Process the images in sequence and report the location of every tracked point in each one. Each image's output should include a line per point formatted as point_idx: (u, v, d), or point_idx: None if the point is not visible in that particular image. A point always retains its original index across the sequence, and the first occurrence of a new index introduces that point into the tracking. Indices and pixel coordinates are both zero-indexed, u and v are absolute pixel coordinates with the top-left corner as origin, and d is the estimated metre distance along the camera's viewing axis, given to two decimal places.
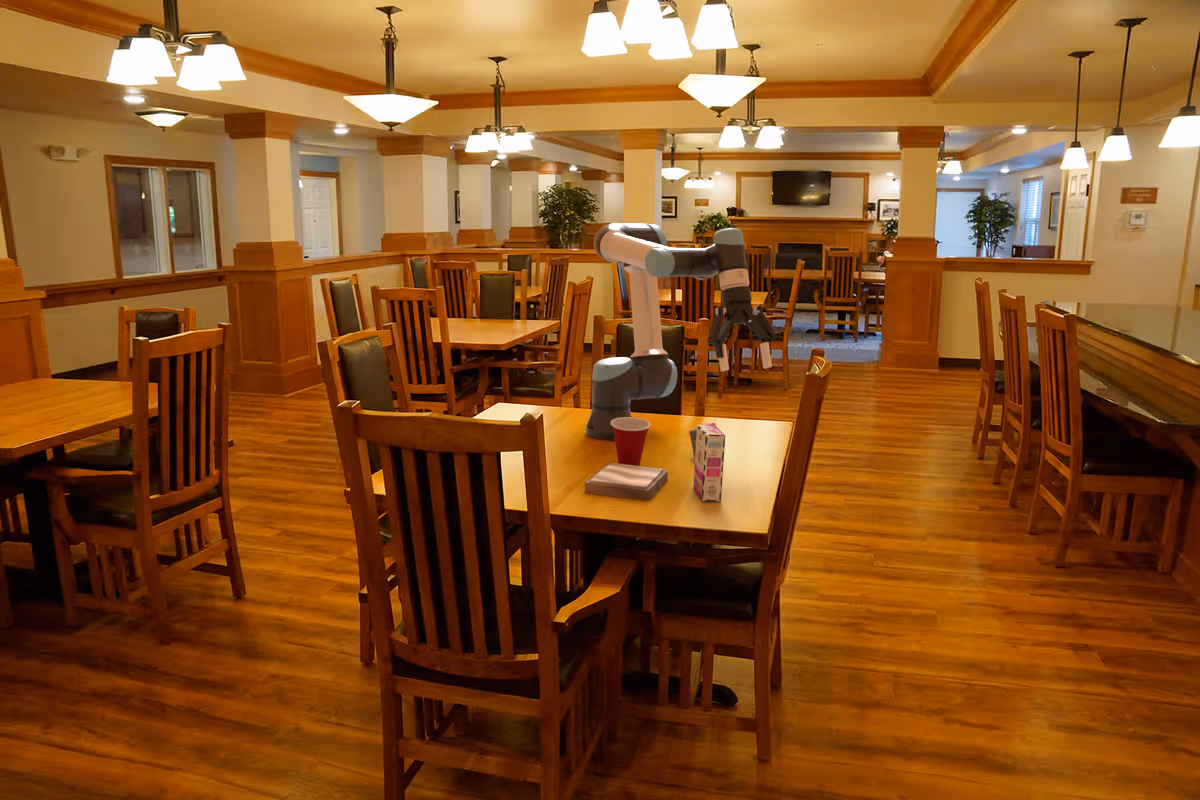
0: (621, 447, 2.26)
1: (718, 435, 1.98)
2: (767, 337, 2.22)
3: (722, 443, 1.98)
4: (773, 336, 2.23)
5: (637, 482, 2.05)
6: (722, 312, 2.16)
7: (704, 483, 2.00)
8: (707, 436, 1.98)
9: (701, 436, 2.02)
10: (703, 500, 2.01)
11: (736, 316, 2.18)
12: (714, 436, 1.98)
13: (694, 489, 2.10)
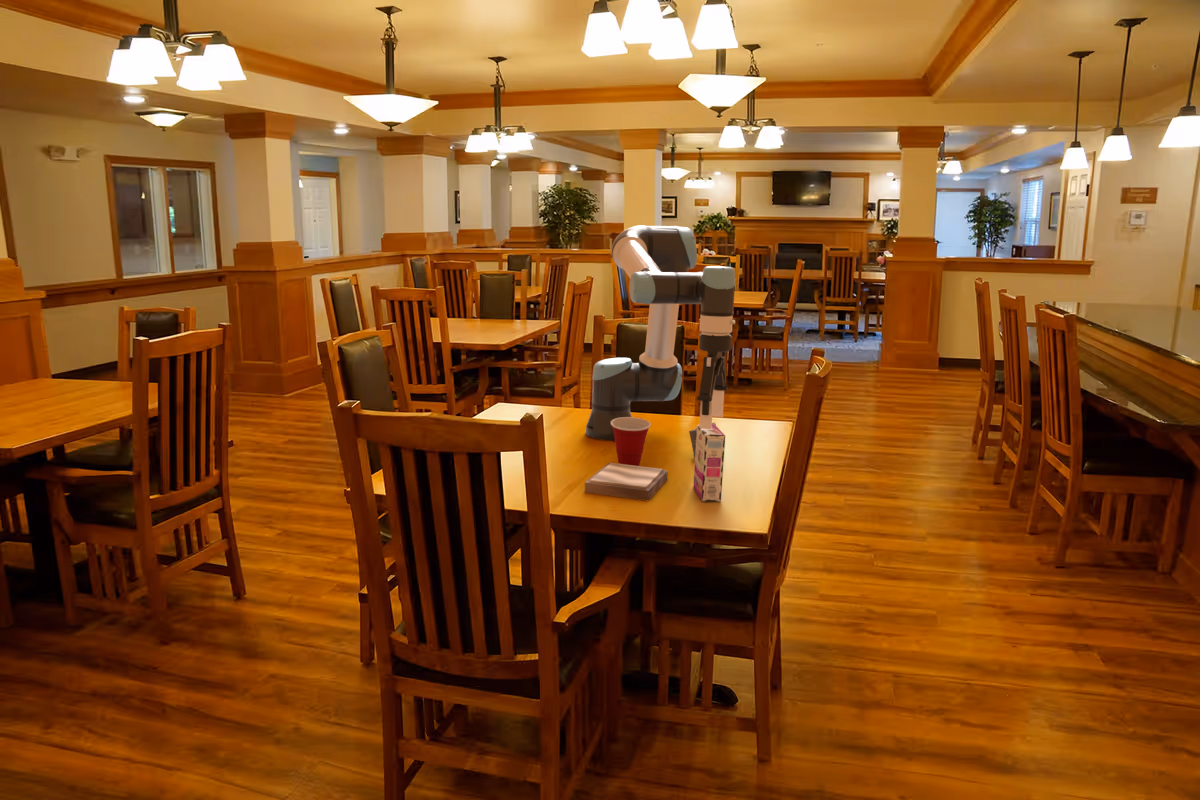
0: (621, 447, 2.26)
1: (718, 435, 1.98)
2: (723, 385, 2.07)
3: (722, 443, 1.98)
4: (725, 383, 2.09)
5: (637, 482, 2.05)
6: (714, 365, 1.93)
7: (704, 483, 2.00)
8: (707, 436, 1.98)
9: (701, 436, 2.02)
10: (703, 500, 2.01)
11: (719, 368, 1.97)
12: (714, 436, 1.98)
13: (694, 489, 2.10)
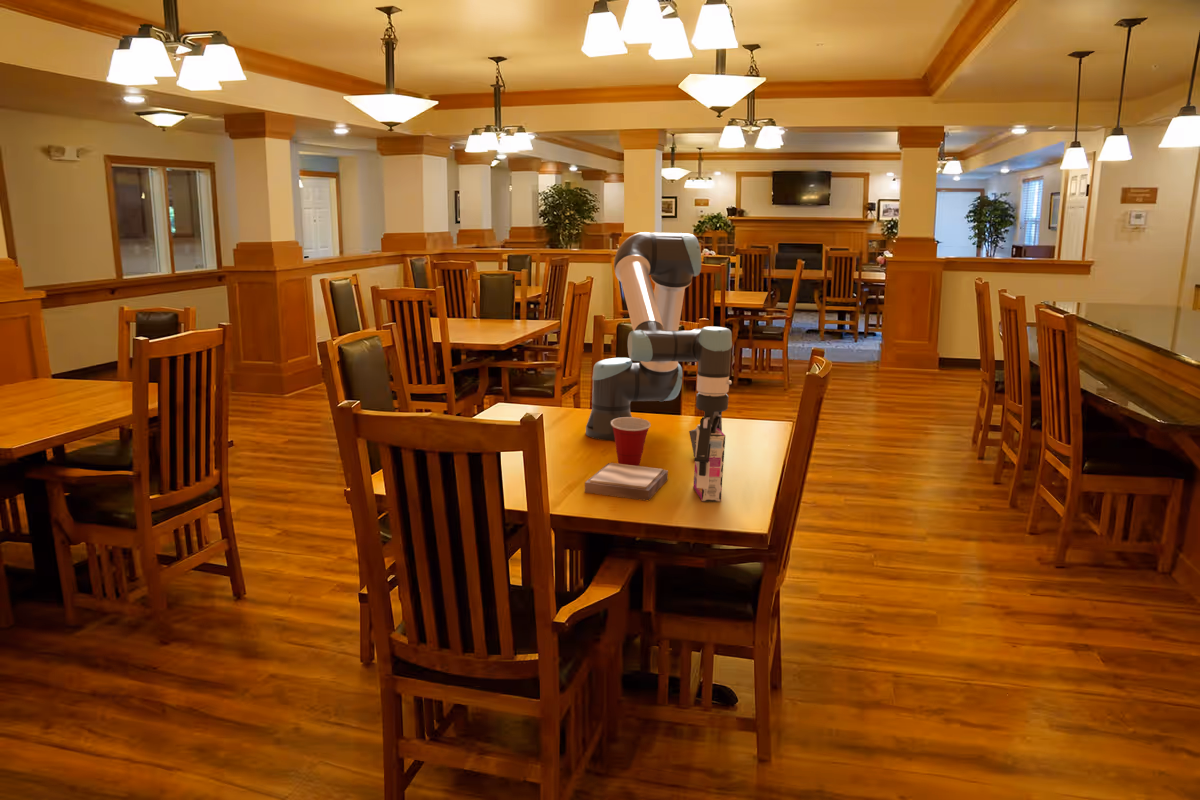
0: (621, 447, 2.26)
1: (718, 435, 1.98)
2: None
3: (722, 443, 1.98)
4: None
5: (637, 482, 2.05)
6: (711, 426, 1.97)
7: None
8: None
9: None
10: (703, 500, 2.01)
11: (716, 427, 2.00)
12: (714, 436, 1.98)
13: (694, 488, 2.10)
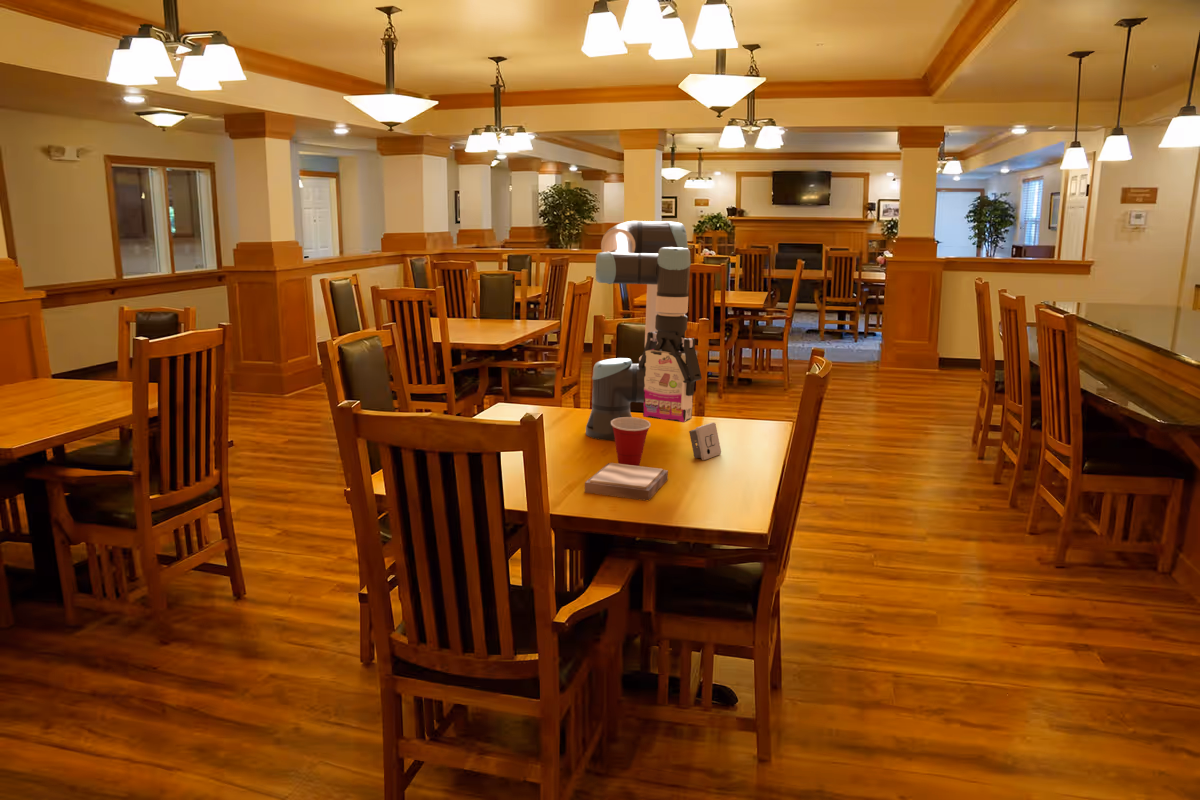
0: (621, 447, 2.26)
1: None
2: None
3: None
4: None
5: (637, 482, 2.05)
6: None
7: None
8: None
9: (670, 359, 2.00)
10: (685, 421, 2.02)
11: None
12: None
13: (648, 417, 2.05)
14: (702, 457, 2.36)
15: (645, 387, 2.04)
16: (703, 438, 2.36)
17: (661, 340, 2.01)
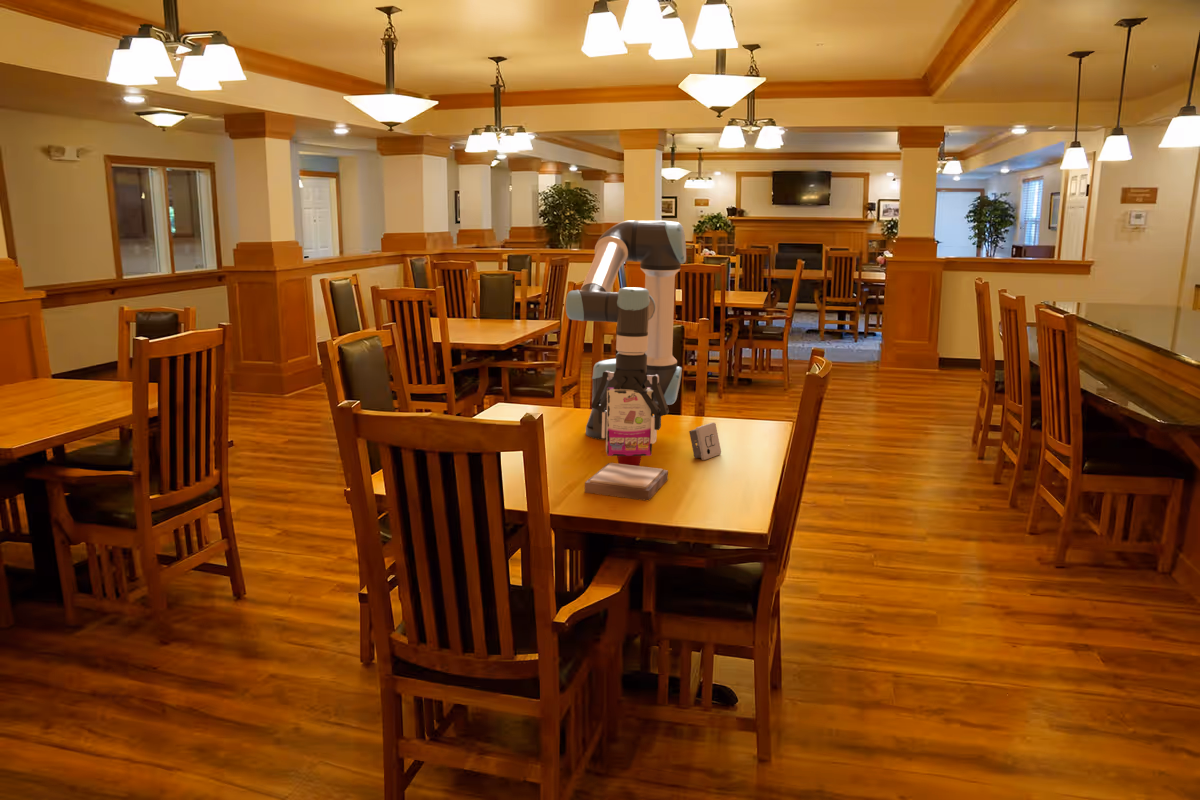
0: None
1: (650, 388, 2.08)
2: None
3: None
4: None
5: (637, 482, 2.05)
6: None
7: None
8: None
9: (635, 396, 2.05)
10: None
11: None
12: (652, 390, 2.07)
13: (613, 455, 2.07)
14: (702, 457, 2.36)
15: (609, 426, 2.06)
16: (703, 438, 2.36)
17: (624, 378, 2.04)
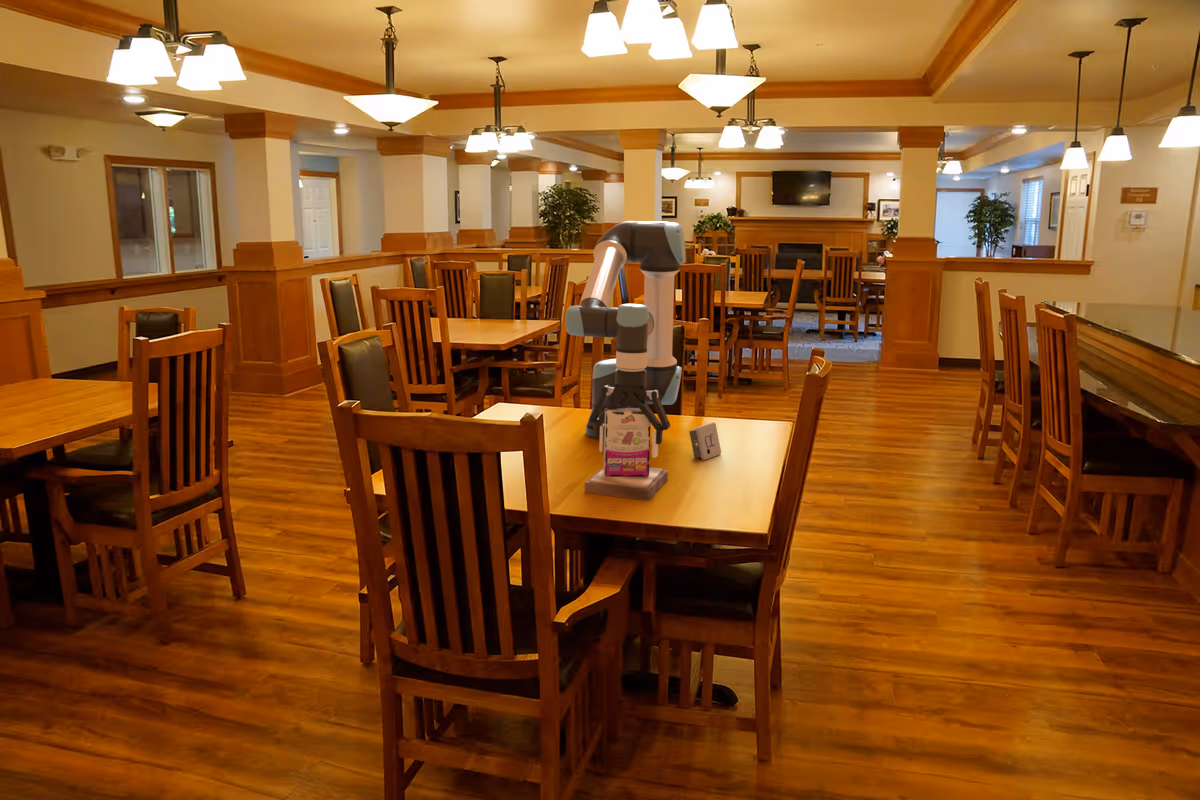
0: None
1: None
2: None
3: None
4: None
5: (637, 482, 2.05)
6: None
7: (649, 458, 2.09)
8: None
9: (633, 417, 2.06)
10: (648, 474, 2.10)
11: None
12: None
13: None
14: (702, 457, 2.36)
15: (607, 447, 2.07)
16: (703, 438, 2.36)
17: (624, 394, 2.05)
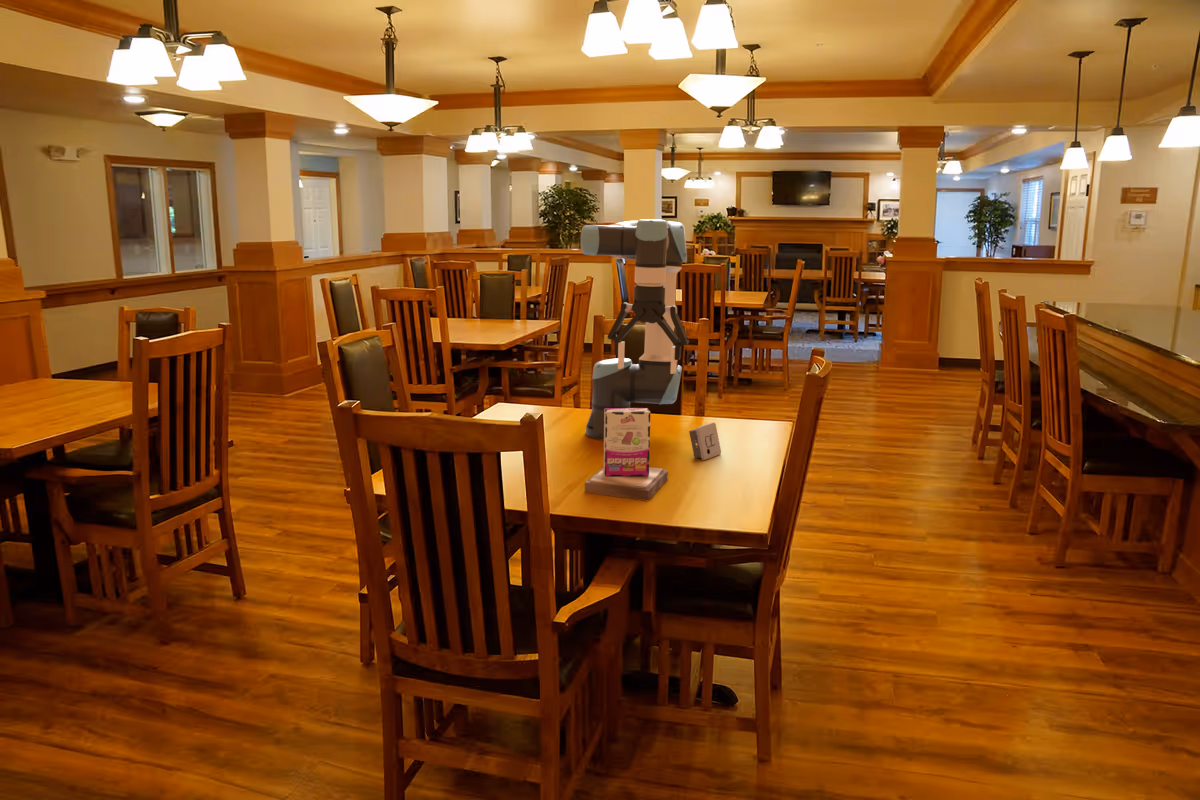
0: None
1: None
2: None
3: None
4: None
5: (637, 482, 2.05)
6: None
7: None
8: None
9: (632, 417, 2.06)
10: (648, 474, 2.10)
11: None
12: (649, 411, 2.08)
13: (610, 476, 2.09)
14: (702, 457, 2.36)
15: (607, 447, 2.07)
16: (703, 438, 2.36)
17: (643, 310, 2.06)
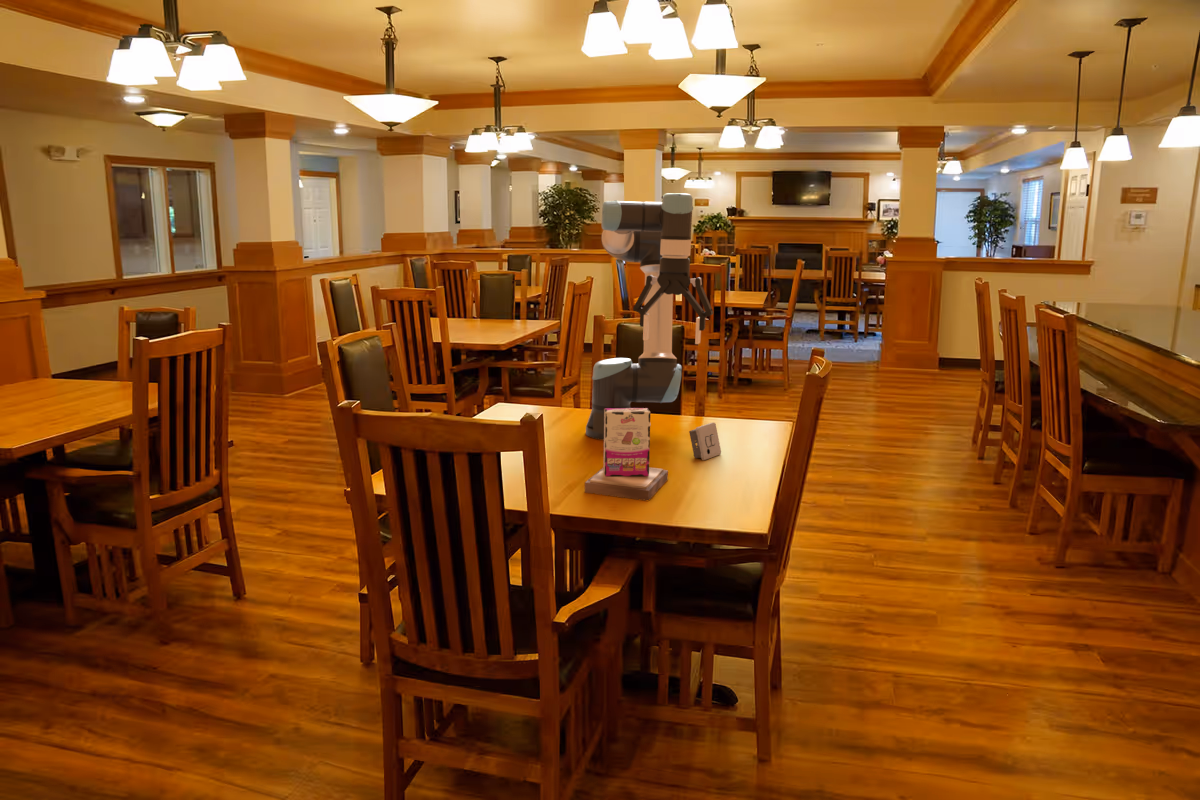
0: None
1: None
2: None
3: None
4: None
5: (637, 482, 2.05)
6: None
7: None
8: None
9: (632, 417, 2.06)
10: (648, 474, 2.10)
11: None
12: (649, 411, 2.08)
13: None
14: (702, 457, 2.36)
15: (607, 447, 2.07)
16: (703, 438, 2.36)
17: (668, 282, 2.12)
